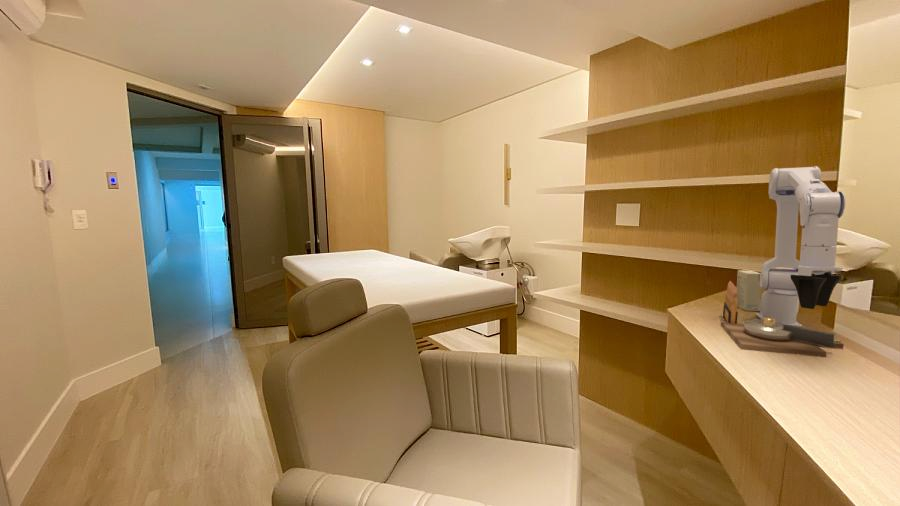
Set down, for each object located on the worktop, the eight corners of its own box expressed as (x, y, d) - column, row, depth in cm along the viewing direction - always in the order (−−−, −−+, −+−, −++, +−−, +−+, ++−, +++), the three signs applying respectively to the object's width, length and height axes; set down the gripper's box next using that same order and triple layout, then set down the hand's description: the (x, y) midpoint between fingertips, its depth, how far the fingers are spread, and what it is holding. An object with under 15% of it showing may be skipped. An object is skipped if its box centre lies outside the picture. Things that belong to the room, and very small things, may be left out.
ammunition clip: (736, 329, 107) (740, 288, 105) (728, 328, 108) (732, 287, 106) (729, 318, 116) (733, 280, 115) (722, 317, 117) (726, 279, 115)
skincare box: (760, 311, 121) (764, 273, 119) (745, 311, 122) (748, 273, 120) (749, 305, 127) (752, 269, 125) (734, 305, 128) (737, 269, 126)
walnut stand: (720, 325, 110) (721, 320, 109) (820, 333, 101) (821, 328, 101) (741, 348, 93) (741, 343, 93) (862, 360, 85) (862, 354, 85)
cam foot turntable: (738, 332, 99) (739, 317, 98) (750, 324, 105) (751, 310, 104) (829, 352, 86) (831, 335, 85) (837, 341, 92) (839, 325, 91)
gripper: (831, 247, 78) (826, 312, 78) (854, 247, 85) (849, 307, 86) (787, 245, 84) (783, 306, 84) (812, 246, 91) (808, 302, 92)
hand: (813, 306), depth 86 cm, fingers open, 7 cm apart
